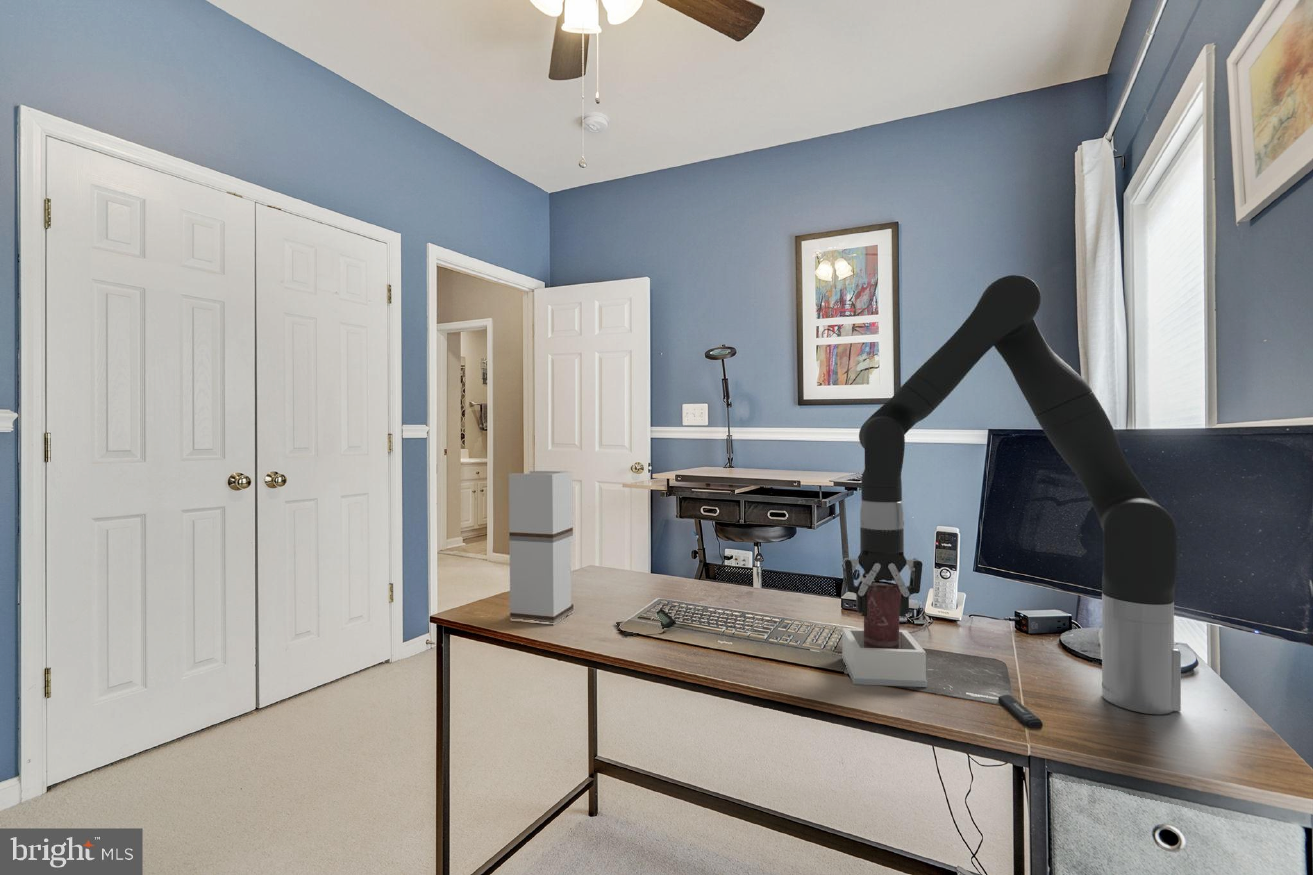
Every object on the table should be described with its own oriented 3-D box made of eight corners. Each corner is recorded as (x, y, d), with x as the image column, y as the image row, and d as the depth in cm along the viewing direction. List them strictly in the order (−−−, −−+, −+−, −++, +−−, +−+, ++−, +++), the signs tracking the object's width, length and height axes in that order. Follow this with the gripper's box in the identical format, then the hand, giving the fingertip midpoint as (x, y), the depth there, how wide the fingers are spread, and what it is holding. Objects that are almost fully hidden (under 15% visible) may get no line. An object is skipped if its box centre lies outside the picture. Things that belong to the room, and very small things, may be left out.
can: (903, 666, 110) (903, 588, 110) (866, 664, 112) (866, 586, 112) (897, 654, 116) (897, 580, 116) (862, 652, 118) (862, 579, 118)
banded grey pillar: (573, 612, 153) (572, 471, 153) (553, 625, 143) (552, 474, 143) (532, 608, 156) (531, 470, 156) (510, 621, 146) (508, 473, 146)
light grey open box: (907, 660, 120) (907, 629, 119) (927, 687, 107) (927, 652, 107) (841, 658, 121) (841, 627, 121) (853, 684, 109) (853, 650, 109)
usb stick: (996, 702, 102) (996, 693, 102) (1013, 703, 102) (1013, 693, 102) (1026, 730, 93) (1026, 719, 93) (1044, 730, 92) (1044, 720, 92)
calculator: (615, 625, 143) (615, 612, 143) (663, 620, 147) (663, 608, 147) (626, 638, 134) (626, 624, 134) (676, 633, 138) (676, 619, 138)
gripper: (916, 522, 117) (916, 610, 117) (838, 521, 118) (838, 608, 119) (928, 528, 109) (929, 622, 109) (845, 527, 111) (845, 620, 111)
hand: (882, 615), depth 114 cm, fingers open, 6 cm apart
